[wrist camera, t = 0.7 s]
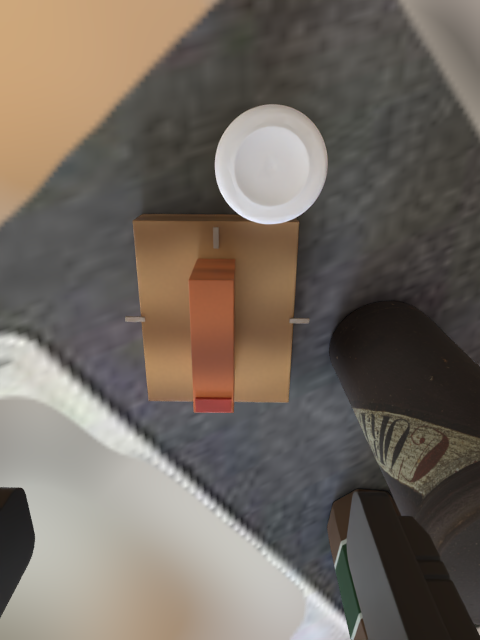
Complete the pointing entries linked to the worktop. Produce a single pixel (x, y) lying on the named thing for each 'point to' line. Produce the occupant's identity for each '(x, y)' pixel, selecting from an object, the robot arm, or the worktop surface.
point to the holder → (213, 334)
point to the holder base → (250, 300)
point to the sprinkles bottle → (271, 164)
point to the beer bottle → (339, 553)
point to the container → (419, 426)
